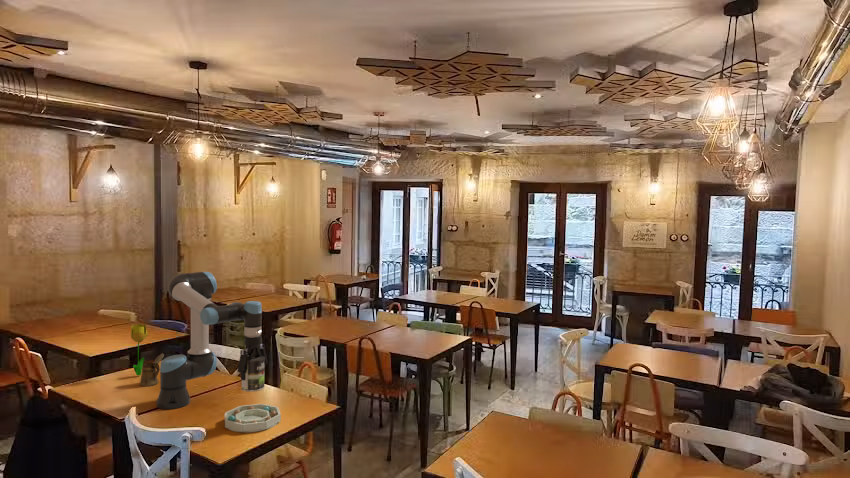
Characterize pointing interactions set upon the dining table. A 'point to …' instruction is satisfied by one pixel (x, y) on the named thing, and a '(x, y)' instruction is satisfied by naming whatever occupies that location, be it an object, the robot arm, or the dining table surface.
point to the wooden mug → (150, 372)
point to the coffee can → (255, 374)
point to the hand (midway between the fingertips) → (252, 383)
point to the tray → (252, 418)
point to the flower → (138, 336)
